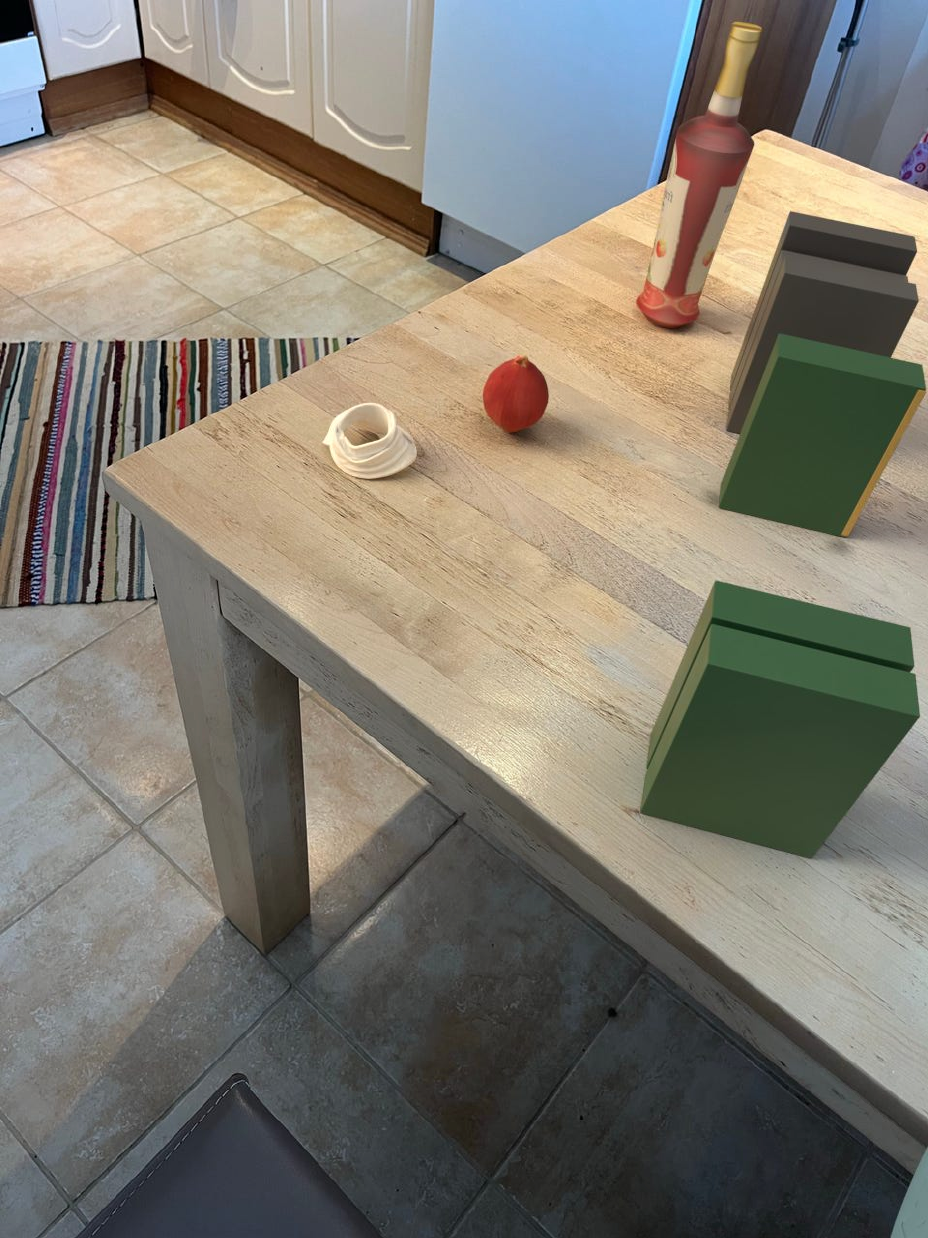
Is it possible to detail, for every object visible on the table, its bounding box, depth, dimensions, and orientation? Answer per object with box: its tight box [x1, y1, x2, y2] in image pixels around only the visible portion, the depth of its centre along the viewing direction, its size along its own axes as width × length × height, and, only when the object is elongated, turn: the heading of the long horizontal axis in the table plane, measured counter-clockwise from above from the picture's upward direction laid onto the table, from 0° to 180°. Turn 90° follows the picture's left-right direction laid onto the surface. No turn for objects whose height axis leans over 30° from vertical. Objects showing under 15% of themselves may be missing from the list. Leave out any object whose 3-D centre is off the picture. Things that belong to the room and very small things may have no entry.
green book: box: [718, 333, 927, 538], centre depth 77 cm, size 4×11×15 cm, turn 76°
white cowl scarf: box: [322, 402, 418, 480], centre depth 80 cm, size 8×7×5 cm
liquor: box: [636, 21, 763, 329], centre depth 93 cm, size 7×7×28 cm
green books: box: [639, 580, 921, 859], centre depth 57 cm, size 6×11×15 cm, turn 76°
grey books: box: [725, 210, 920, 435], centre depth 86 cm, size 10×11×17 cm
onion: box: [482, 353, 550, 434], centre depth 84 cm, size 6×6×8 cm
